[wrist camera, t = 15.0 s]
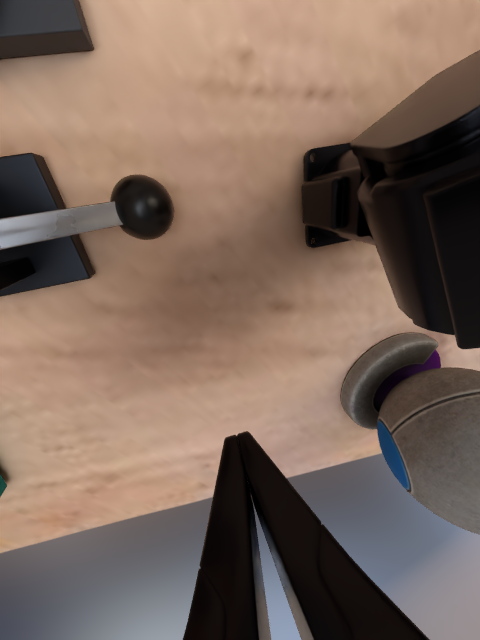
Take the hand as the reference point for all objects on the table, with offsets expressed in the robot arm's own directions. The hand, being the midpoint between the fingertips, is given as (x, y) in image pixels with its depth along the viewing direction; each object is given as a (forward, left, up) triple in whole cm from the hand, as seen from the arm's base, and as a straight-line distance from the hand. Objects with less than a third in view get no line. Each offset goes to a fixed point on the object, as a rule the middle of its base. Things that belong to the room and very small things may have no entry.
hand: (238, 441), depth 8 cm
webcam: (-19, +15, -13) cm, 28 cm away
